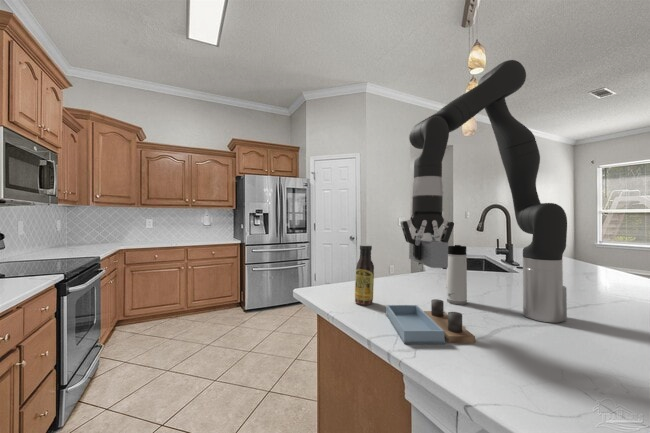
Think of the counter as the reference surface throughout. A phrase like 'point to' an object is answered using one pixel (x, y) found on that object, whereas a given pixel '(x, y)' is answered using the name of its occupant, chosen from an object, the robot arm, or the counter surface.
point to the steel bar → (431, 253)
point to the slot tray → (414, 325)
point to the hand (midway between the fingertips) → (426, 259)
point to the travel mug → (457, 275)
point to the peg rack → (449, 323)
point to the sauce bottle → (364, 277)
